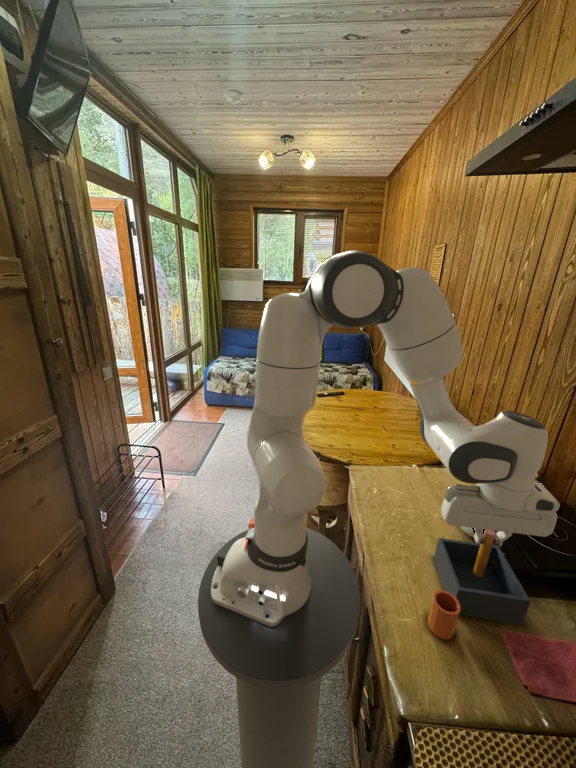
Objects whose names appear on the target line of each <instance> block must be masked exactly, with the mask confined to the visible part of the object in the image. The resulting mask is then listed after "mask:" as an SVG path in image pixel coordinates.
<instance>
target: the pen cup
mask: <svg viewBox="0 0 576 768" xmlns="http://www.w3.org/2000/svg"><path fill="white" fill-rule="evenodd" d="M431 600H432V601H431V604H430V609H429V613H428V617H427V625H428V628H429V629H430V631H431V632H432V633H433V634H434V635H435V636H436V637H438V638H440V639H442V640H449V639H452V637H453V636H454V634H455V630H456V627H457V624H458V620H459V617H460V615H461V614H460V609H461V606H460V604H459V601H458V600H457V599H456V598H455V596H453V595H452V594H450V593H449V592H446V591H444V589H442V590H441V589H439V590H437V591H435V592H433V596H432V599H431Z"/></svg>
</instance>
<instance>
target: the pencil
mask: <svg viewBox="0 0 576 768" xmlns="http://www.w3.org/2000/svg"><path fill="white" fill-rule="evenodd" d="M484 536H485V538H486V541H485V544H481V545H480V548H479V552H478V555H477V559H476V562H475V566H474V569H473V573H474V574H475V575H476V576H477V577H483V575H484V572H485V568H486V565H487V562H488V559H489V555H490V552H491V549H492V545H493V542H494V539H495V536H496V533H495V531H493V530H486V529H485V531H484Z"/></svg>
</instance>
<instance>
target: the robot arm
mask: <svg viewBox="0 0 576 768" xmlns="http://www.w3.org/2000/svg"><path fill="white" fill-rule="evenodd" d="M375 325H376V326H377V328H378V329H379V331H380V332H381V333H382V336H383V338H384V341H385V344H386V346H387V348H388V351H389V353H390V355H391V357H392V359H393V361H394V362H395V365H396V366H397V368H398V370H399V371H400V372H401V374H402V375H403V376H404V379H406V380H407V382H409V385H410V387H411V390H412V394H413V396H414V397H415V401H416V403H417V406H418V410H419V413H420V423H419V424H420V425H419V433H420V437H421V439H422V441H423V442H424V443H425V444H426V446H428V448H430V449H431V451H432V452H433V453H434V454H435V455H436V457H437V458H438V459H439V461H440V462H441V463H442V464H443V466H444V467H445V468H446V469H447V471H448V472H449V473H450V474H451V475H452V477H454V478H455V479H456V480H457V481H459V482H462V483H464V484H462V483H455V484H454V485H451V486H449V487H447V488H446V490H445V494H444V499H443V501H442V504H441V508H440V514H441V516H442V518H443V520H444V522H445V523H446V524H447V525H449V526H453V527H454V526H455V527H460V526H462V527H470V528H474V530H475V534H474V538H473V539H474V542H475V543H480V544H485V541H486V538H485V536H484V534H483V532H482V531H483V529H486V530H494V531H498V532H497V533H496V536H495V539H494V542H493V545H495V546H499V547H502V546H503V543H504V542H505V541H506V540H508V539H509V538H510V537H512V536H513V534H517V535H518V534H519V535H528V536H534V537H542V538H546V537H549V536H551V535H552V534H553V533H554V530H555V527H556V524H557V521H558V514H557V511H559V509H560V506H561V504H560V502H559V501H558V499H556V498H555V496H553V494H552V493H551V492H550V491H549V490H548V489H546V487H545V486H543V484H541V483H540V482H537V481H536V475H537V473H538V472H539V471H540V470H541V468H542V465H543V463H544V460H545V456H546V452H547V448H548V441H549V434H548V429H547V427H546V426H545V425H544V424H543V423H542V422H540V421H539V420H537V419H535V418H534V417H532V416H530V415H526V414H524V413H521V412H518V411H515V410H514V411H513V410H502V411H500V412H499V414H498V415H497V416H496V417H495V418H493V419H491V420H490V421H487V422H485V423H483V424H479V425H474V424H473V423H472V422H471V421H470V420H469V419H468V418H467V417H466V416H465V415H463V413H462V412H461V411H460V410H458V409H457V408H455V406H454V405H453V404H452V401H451V398H450V395H449V392H448V388H447V386H446V382H445V380H444V378H445V377H447V376H449V375H450V374H451V373H452V372H453V371H455V370H456V369H457V368H458V366H459V364H460V363H461V361H462V359H463V344H462V339H461V334H460V332H459V329H458V326H457V323H456V320H455V317H454V315H453V312H452V309H451V308H450V305H449V303H448V301H447V299H446V297H445V295H444V294H443V291H442V290H441V288H440V286H439V284H438V283H437V281H436V280H435V278H434V277H433V275H432V274H431V273H430V272H429V271H428V270H427V269H425V268H422V267H418V266H412V267H404V268H400V269H397V270H395V269H393V268H392V267H390V266H389V265H387V264H386V262H384V261H383V260H381V259H380V258H379V257H377V256H376V255H374V254H372V253H369V252H367V251H363V250H355V249H353V250H347V251H341V252H337V253H334V254H332V255H330V256H328V257H327V258H325V259H324V260H323V261H322V262H321V263H319V265H318V266H317V267H316V268H315V269H314V270H313V272H312V273H311V275H310V276H309V278H308V280H307V281H306V283H305V284H304V286H303V287H302V288H301V290H300V292H286V293H282V294H278V295H275V296H274V297H272V298H271V299H269V300H268V301H267V303H266V304H265V307H264V309H263V312H262V316H261V321H260V326H259V331H258V338H257V346H256V347H257V348H256V363H255V364H256V365H255V366H256V367H255V388H254V403H253V408H252V412H251V417H250V420H249V421H250V422H249V424H248V427H247V430H246V446H247V447H246V448H247V452H248V454H249V457H250V459H251V462H252V465H253V468H254V471H255V474H256V479H257V482H258V497H257V499H256V500H255V502H254V505H253V517H252V518H250V519H249V523H248V525H247V527H248V530H249V529H250V530H249V531H248V532H247V535H246V537H244V538H241V539H238V540H237V541H236V542H235V543H234V544H233V545H232V544H228V543H227V542H225V543H224V544H223V545H222V547H223V548H222V549H221V551H220V552H219V554H218V555H217V561H218V566H217V569H216V571H215V574H214V576H213V580H212V584H211V599H212V602H214V603H215V604H218V605H220V606H222V607H225V608H227V609H229V610H232V611H234V612H237V613H239V614H241V615H244V616H246V617H248V618H251V619H253V620H256V621H258V622H260V623H263V624H265V625H268V626H270V627H274V626H276V625H277V624H279V623H280V622H281V620H282V619H283V618H284V617H285V616H287V615H289V614H291V613H293V612H295V611H297V610H298V609H299V608H301V607H302V606H303V605H304V603H305V602H306V601H307V599H308V597H309V595H310V591H311V579H310V576H309V573H308V569H307V562H306V561H307V557H308V534H307V531H306V529H307V528H308V514H309V513H310V512H312V511H314V510H315V509H316V508H318V506H319V505H320V504H321V503H322V501H323V500H324V498H325V496H326V493H327V490H328V489H327V488H328V484H327V482H328V481H327V479H326V476H325V472H324V471H323V467H322V464H321V462H320V459H319V458H318V456H317V455H316V454H315V453H314V451H313V450H312V449H311V447H310V446H309V445H308V444H307V442H306V439H305V438H304V433H303V425H304V421H305V419H306V416H307V414H308V413H309V412H311V411H312V410H313V409H314V407H315V406H316V403H317V394H318V385H319V377H320V376H319V375H320V368H321V356H322V347H323V346H322V345H323V342H324V339H325V336H326V334H327V332H328V331H329V330H330V328H332V327H333V326H336V327H338V328H342V329H347V330H353V329H362V328H366V327H370V326H375ZM474 484H476V485H474ZM479 531H480V532H479ZM214 588H217V589H214ZM266 616H269V618H266Z"/></svg>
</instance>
